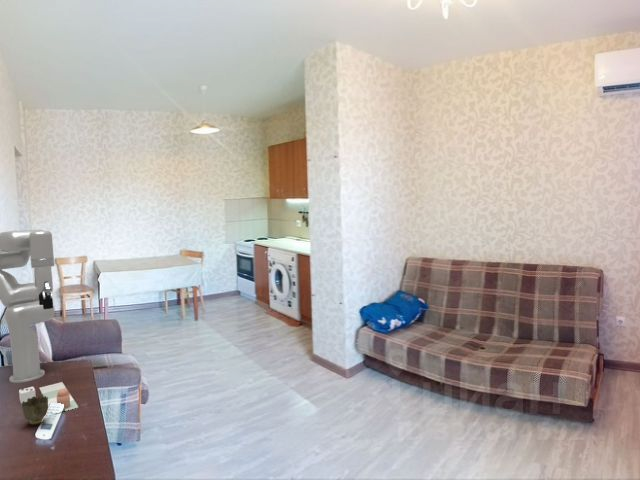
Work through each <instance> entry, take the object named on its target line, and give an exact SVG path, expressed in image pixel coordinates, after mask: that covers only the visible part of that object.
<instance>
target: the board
mask: <svg viewBox="0 0 640 480" xmlns="http://www.w3.org/2000/svg"><path fill="white" fill-rule="evenodd" d="M61 389H67V387H66V386H65V384H64V383H63V381H61V382H57V383H52V384H49V385H45V386H41V387H39V390H40V392H41V395H42V396H44V397H45V396H46V397H47V396H48V407H49V404H50V403H51V402H57V393H58V392H59V391H60V390H61ZM75 408H76V409H79V405H78V404H77V402H76V400H75V399H74V398H73V396H72V395H71V394H70V407H68V408H66V409H65V411H66V412H69V411H72V409H73V410H76V409H75ZM68 410H69V411H68Z"/></svg>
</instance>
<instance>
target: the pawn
mask: <svg viewBox="0 0 640 480" xmlns="http://www.w3.org/2000/svg"><path fill="white" fill-rule="evenodd" d="M70 395H71V393H70V392H69V390H68V388H66V389H61V390H60V391H59V392H58V393H57V403H61V404H64V409H66V408H68V407H70Z"/></svg>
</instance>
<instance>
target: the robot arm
mask: <svg viewBox="0 0 640 480" xmlns="http://www.w3.org/2000/svg"><path fill="white" fill-rule="evenodd" d="M53 245H54V243H53V234H52V232H51V231H50V230H43V229H33V230H32V229H31V230H30V229H26V230H10V231H8V230H7V231H2V232H0V302H1V304H2V305H3V306H4V307H5V308H7V309H6V310H5V314H4V316H5V321H6V324H7V325H6V326H7V329H8V334H9V339H10V340H9V341H10V343H9V344H10V350H11V351H10V352H11V362H12V364H11V365H12V373H13V374H12V375H10V376H9V379H8V380H9V382H10V383H12V384H13V383H14V384H15V383H16V384H17V383H19V384H21V383H28V382H31V381H35V380H37V379H40V378H42V377H43V376H45V374H46V372H45V370H44V369H41V362H40V352H39V350H40V349H39V339H38V338H39V337H38V333H37V332H36V331H35V330H34V329H32V328H31V326H32V325H35V324H36V325H37V324H40V323H46V322H48V321H51V320H52V319H54V317H55V307H54V299H53V294H52V292H53V291H54V290H53V289H54V285H53V273H52V272H53V271H52V267H54V266H55V257H54V246H53ZM29 260H30V267H31V269H33V272H34V273H33V276H34V277H33V279H34V282H27V283H19V282H18V280H17V278H16V277H15V276H14V275H12V274H11V273H9V272H7V271H5V270H7V269H8V270H9V269H15V268H16V269H17V268H23V267H26V266H27V264H28V263H29Z"/></svg>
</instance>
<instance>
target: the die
mask: <svg viewBox="0 0 640 480" xmlns="http://www.w3.org/2000/svg"><path fill="white" fill-rule="evenodd" d="M36 394H37V393H36V389H35V387H34V386H29V387H25V388H20V389H19V390H18V395H19V402H20V405H21V406H22V404H21V403H23V401H24V402H27V399H28V398H30V399H31V398H32V397H34V396H35V397H36V398H37V396H36Z"/></svg>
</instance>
